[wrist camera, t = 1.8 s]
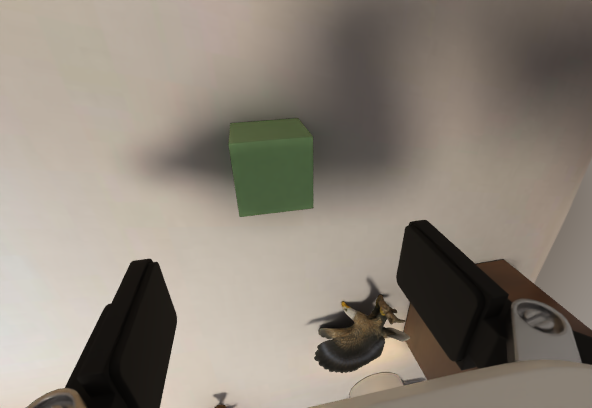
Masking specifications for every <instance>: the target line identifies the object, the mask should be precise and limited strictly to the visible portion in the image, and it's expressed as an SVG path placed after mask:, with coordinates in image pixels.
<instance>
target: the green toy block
mask: <svg viewBox="0 0 592 408" xmlns="http://www.w3.org/2000/svg"><path fill="white" fill-rule="evenodd" d="M228 145H229V151H230V158H231V164H232V171H233V177H234V184H235V190H236V197H237V203H238V210H239V216H240V217H244V216H253V215H261V214H269V213H278V212H286V211H294V210H303V209H311V208H313V136H312V135H311V134H310V132H309V131H308V130H307V129H306V128H305V126H304V125H303V124H302V123H301V121H300V120H299V119H298V118H293V119H279V120H266V121H253V122H240V123H230V132H229V143H228Z"/></svg>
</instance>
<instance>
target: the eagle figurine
mask: <svg viewBox="0 0 592 408" xmlns="http://www.w3.org/2000/svg"><path fill="white" fill-rule="evenodd" d="M342 307H343V310H344V312H345V313H346V314H347V315H348V316H349V317H350V318H351V319H352V320H353V321H354V322H355V323H354V324H353V325H352V326H351V327H347V328H337V329H333V328H320V330H319V332H320V333H319V335H321V337H326V338H327V339H332V340H327V341H325V342H323V343H321V344H320V345H318V347H317V348H318V350H317V351H316V352H315V354H316V356H315V357H314V359H315V360H316V361H319V365H320V366H323V367H324V369H329V371H330V372H333V371H335V372H341V373H343V372H345V373H347V372H348V371H349V372H352V371H355V370H357V369H358V368H360V367H362V366H363V365H366V364H368V363H369V362H370V361H373V360H374V359H376V358H378V357H379V356H380V355H381V353H382V351H383V347H384V344H385V339H384V338H394V339H397V340H399V341H406V340H408V339H410V337H409V336H408V335H407V334H406V333H405V332H402V331H399V330H396V329H394V328H385V327H383V326H384V324H385V322H386V320H387V319H388V320H389V322H390V324H393V322H394V323H396V322H397V323H403V322H405V320H400V319H398V318H397V317H396V316H395V315H394V314H393V313H397V310H396V309H392V308H391V307H389V306H388V305H387V304H386V302H385V301H384V299H383V296H382V295H381V294H380V295H379V296H378V298H377V299H376V306H375V308H374V310H373V311H372V313H371V314H370V315H369V316H367V315H365V314H364V313H362V312H359V311H356V310H354V309H352V308H351V307H349V306H347V305H346V304H345V303H344V301H343V302H342Z"/></svg>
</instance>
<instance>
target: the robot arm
mask: <svg viewBox="0 0 592 408" xmlns="http://www.w3.org/2000/svg"><path fill="white" fill-rule="evenodd" d="M396 278H397V283H398V285H399V287H400V288H401V290H402V291H403V293H404V294H405V295H406V297H407V298H408V300H409V301H410V303H411V304H412V306H413V307H414V308H415V310H416V311H417V313H418V314H419V316H420V317H421V319H422V320H423V322H424V323H425V324H426V326H427V327H428V329H429V330H430V332H431V333H432V335H433V336H434V338H435V339H436V340H437V342H438V343H439V345H440V346H441V348H442V349H443V351H444V352H445V354H446V355H447V356H448V358H449V359H450V360H451V361H453V362H454V361H455V362H456V364H457V365H458V367H459V368H460V369H461V371H462V370H466V369H470V368H475V367H476V366H477V367H478V369H477V370H472V371H467V372H462V373H457V374H453V375H449V376H444V377H440V378H435V379H431V380H426V381H422V382H418V383H413V384H409V385H404V386H400V387H395V388H391V389H387V390H382V391H378V392H374V393H369V394H365V395H361V396H356V397H352V398H348V399H343V400H339V401H335V402H330V403H326V404H322V405H317V406H313V407H309V408H592V337H590V336H587V335H584V334H582V333H579V332H576V331H573V330H572V328H571V326H570V324H569V322H568V320H567V319H566V318H565V317H564V316H563V315H562V314H561V313H560V312H558V311H557V310H556V309H554V308H552V307H551V306H549V305H547V304H545V303H542V302H540V301H537V300H532V299H517V300H515V301H514V302H513V303H512V302H511V301H510V300H509V299H508V296H509V294H508V293H507V292H506V291H505V290H504V289H502V288H501V287H500V286H499V285H498V284H497V283H496V282H495V281H494V280H492V279H491V278H490V277H489V276H488V275H487V274H486V273H485V272H484V271H483V270H481V269H480V268H479V267H478V266H477V265H476V264H475V263H474V262H473V261H471V260H470V259H469V258H468V257H467V256H466V255H465V254H464V253H463V252H461V251H460V250H459V249H458V248H457V247H456V246H455V245H454V244H453V243H452V242H450V241H449V240H448V239H447V238H446V237H445V236H444V235H443V234H442V233H440V232H439V231H438V230H437V229H436V228H435V227H434V226H433V225H432V224H430V223H429V222H428V221H427V220H420V221H413V222H410V223H409V226H407V227H406V228H405V233H404V238H403V243H402V249H401V254H400V260H399V265H398V271H397V276H396ZM176 325H177V316H176V312H175V309H174V306H173V303H172V301H171V298H170V295H169V292H168V289H167V286H166V283H165V281H164V278H163V275H162V272H161V269H160V266H159V264H158V262H153V261H152V260H151V259H144V260H136V261H132V262H131V263H130V265H129V267H128V270H127V272H126V274H125V276H124V278H123V280H122V282H121V284H120V286H119V289H118V291H117V293H116V295H115V297H114V299H113V301H112V303H111V304H108V305H107V306H106V307H105V308H104V310H103V312H102V314H101V316H100V318H99V320H98V322H97V324H96V326H95V328H94V330H93V332H92V334H91V336H90V338H89V340H88V342H87V344H86V346H85V348H84V350H83V352H82V354H81V356H80V358H79V360H78V362H77V364H76V366H75V368H74V370H73V372H72V374H71V376H70V378H69V381H68V383H67V385H66V387H65V388H63V389H57V390H54V391H51V392H49V393H46V394H45V395H43V396H41V397H40V398H38V399H36V400H35V401H34V402H32V403H31V404H30V405H29V406H27V407H26V408H160V403H161V398H162V393H163V389H164V384H165V379H166V374H167V369H168V364H169V359H170V354H171V349H172V345H173V340H174V335H175V330H176Z"/></svg>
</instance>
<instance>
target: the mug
mask: <svg viewBox="0 0 592 408" xmlns="http://www.w3.org/2000/svg"><path fill="white" fill-rule="evenodd" d="M400 386H404V385H403V383H402V381H401V379H400V377H399V376H398V375H396V374H394V373H378V374H374V375H371V376H369V377H367V378H365V379H363V380H361V381H360V382H358V383H357V384H356V385H355V386H354V387H353V388H352V390H351V391H350V398H352V397H356V396H361V395H365V394H369V393H374V392H378V391H382V390H387V389H391V388H395V387H400Z"/></svg>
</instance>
